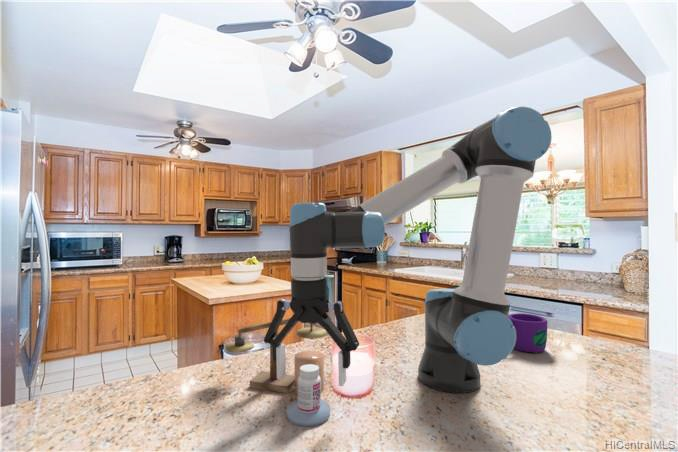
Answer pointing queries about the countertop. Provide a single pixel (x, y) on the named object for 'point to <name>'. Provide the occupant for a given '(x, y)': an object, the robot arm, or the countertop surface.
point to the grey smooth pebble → (308, 415)
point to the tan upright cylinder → (309, 358)
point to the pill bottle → (309, 389)
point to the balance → (271, 357)
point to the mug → (529, 332)
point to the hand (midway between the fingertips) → (311, 379)
